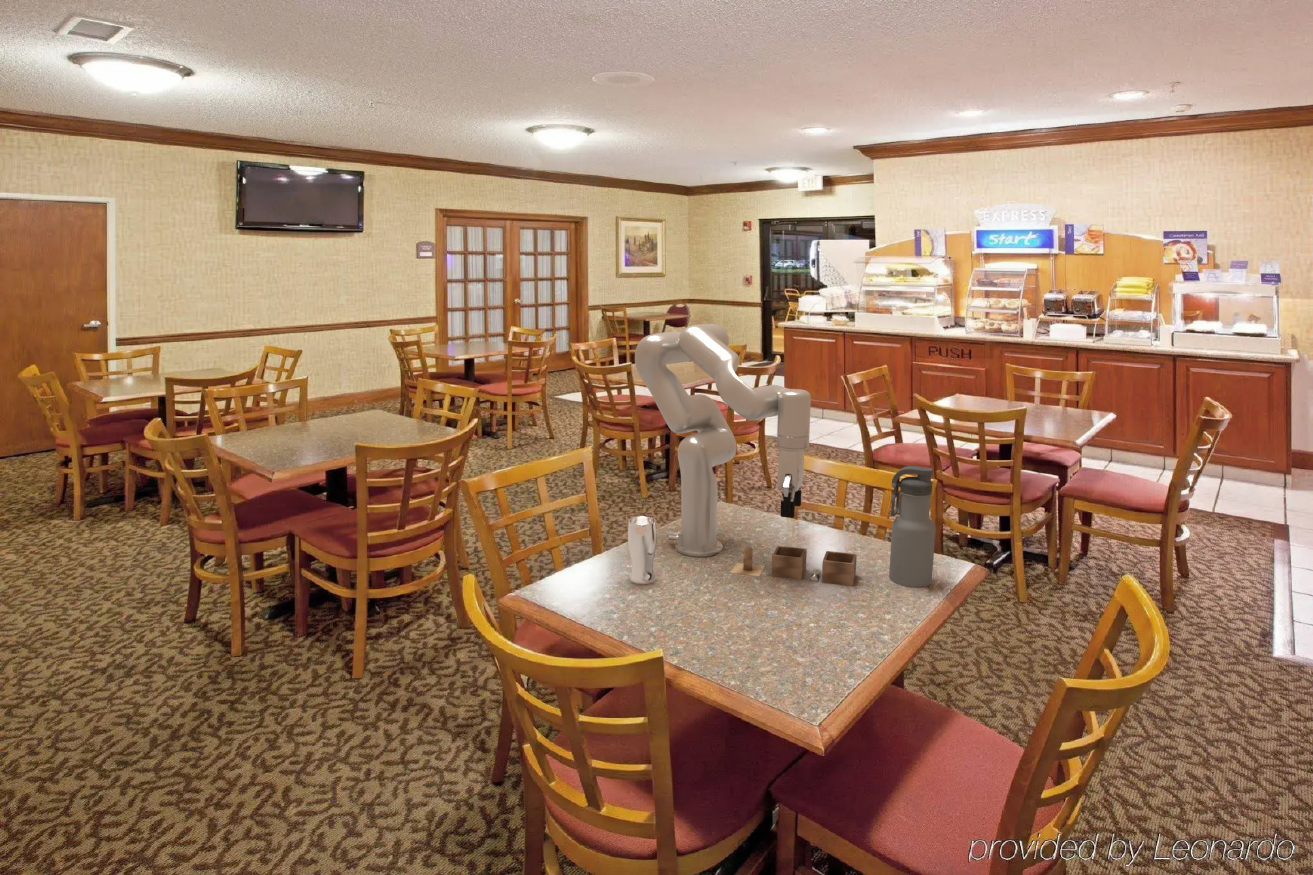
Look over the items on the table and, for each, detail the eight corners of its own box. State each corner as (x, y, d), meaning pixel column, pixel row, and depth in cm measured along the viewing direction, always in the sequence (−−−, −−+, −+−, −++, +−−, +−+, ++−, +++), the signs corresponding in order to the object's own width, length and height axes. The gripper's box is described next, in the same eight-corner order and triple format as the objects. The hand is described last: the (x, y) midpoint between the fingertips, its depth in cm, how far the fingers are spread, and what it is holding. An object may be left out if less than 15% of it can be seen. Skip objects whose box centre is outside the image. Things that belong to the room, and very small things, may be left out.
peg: (811, 585, 190) (819, 582, 190) (808, 578, 190) (815, 575, 189) (814, 578, 195) (822, 575, 194) (811, 570, 195) (818, 568, 194)
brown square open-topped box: (821, 584, 189) (822, 560, 188) (825, 574, 196) (826, 550, 195) (852, 588, 187) (853, 564, 186) (855, 577, 194) (856, 554, 192)
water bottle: (883, 584, 189) (889, 470, 183) (891, 571, 198) (898, 461, 192) (927, 592, 184) (935, 475, 179) (934, 578, 193) (942, 466, 187)
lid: (730, 576, 195) (730, 551, 194) (736, 566, 202) (737, 541, 201) (759, 580, 193) (759, 554, 192) (764, 569, 200) (765, 544, 199)
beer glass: (623, 582, 191) (622, 522, 188) (637, 572, 197) (636, 514, 194) (648, 587, 188) (648, 526, 185) (662, 577, 194) (661, 518, 191)
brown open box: (771, 578, 193) (772, 555, 192) (777, 568, 200) (777, 545, 199) (801, 582, 191) (802, 558, 190) (805, 571, 197) (806, 548, 196)
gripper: (783, 433, 198) (781, 500, 201) (770, 448, 182) (768, 520, 185) (814, 435, 195) (811, 503, 199) (803, 450, 179) (800, 523, 183)
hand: (790, 511), depth 192 cm, fingers open, 9 cm apart
